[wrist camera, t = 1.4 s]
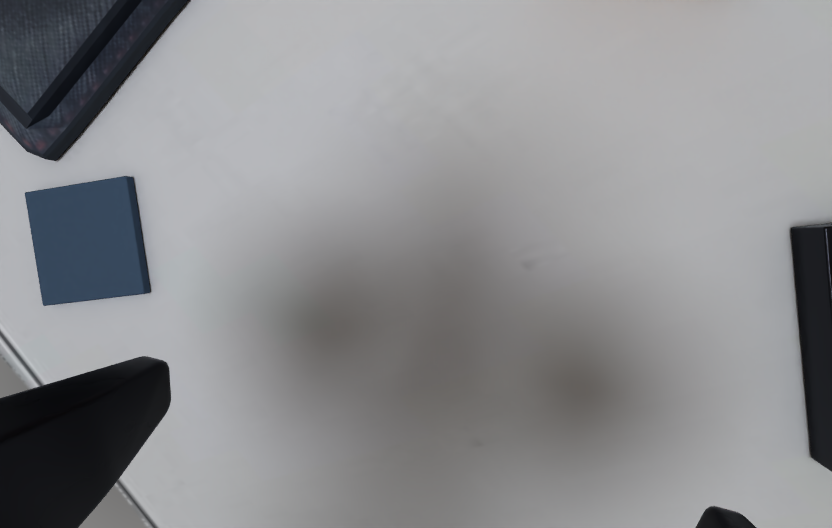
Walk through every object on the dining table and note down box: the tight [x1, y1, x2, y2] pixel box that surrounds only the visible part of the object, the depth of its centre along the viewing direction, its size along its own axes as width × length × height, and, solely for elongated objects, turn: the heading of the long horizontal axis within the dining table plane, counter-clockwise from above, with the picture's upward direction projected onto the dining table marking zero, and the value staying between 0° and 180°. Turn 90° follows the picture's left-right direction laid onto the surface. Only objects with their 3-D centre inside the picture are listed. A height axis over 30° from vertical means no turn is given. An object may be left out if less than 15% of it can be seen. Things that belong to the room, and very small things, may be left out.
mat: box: [25, 176, 150, 306], centre depth 24 cm, size 6×6×1 cm
